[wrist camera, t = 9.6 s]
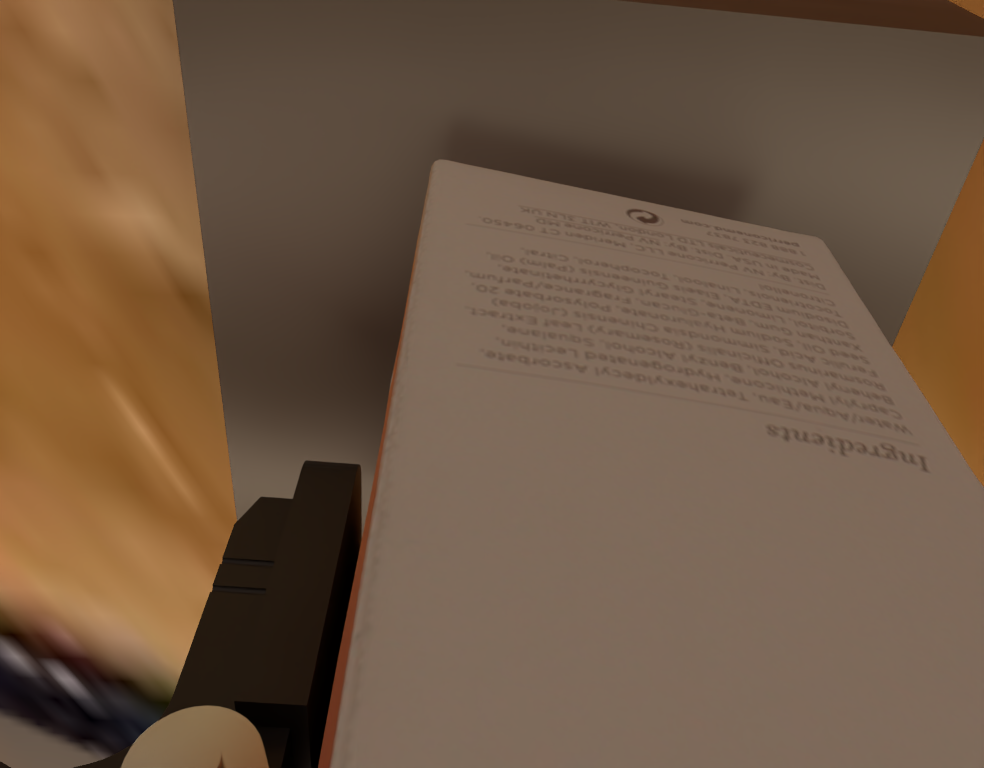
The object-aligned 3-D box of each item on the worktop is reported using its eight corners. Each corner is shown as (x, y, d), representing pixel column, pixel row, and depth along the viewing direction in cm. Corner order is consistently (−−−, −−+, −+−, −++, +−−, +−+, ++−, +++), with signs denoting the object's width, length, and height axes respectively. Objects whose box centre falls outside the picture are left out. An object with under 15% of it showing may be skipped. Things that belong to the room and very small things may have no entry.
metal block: (242, -85, 15) (167, -45, 11) (915, -17, 15) (1026, 41, 12) (281, 443, 22) (241, 560, 18) (740, 478, 22) (780, 599, 19)
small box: (433, 143, 11) (195, 1372, 3) (829, 228, 12) (1672, 1437, 3) (360, 551, 16) (189, 1470, 7) (646, 596, 16) (798, 1489, 8)
